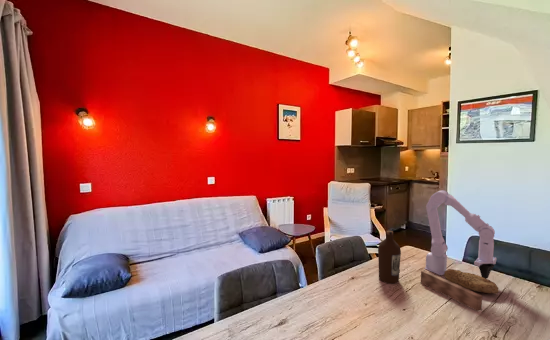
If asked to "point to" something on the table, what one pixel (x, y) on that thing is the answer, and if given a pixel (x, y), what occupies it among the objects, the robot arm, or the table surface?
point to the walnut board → (452, 290)
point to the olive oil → (389, 259)
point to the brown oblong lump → (471, 281)
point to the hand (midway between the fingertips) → (484, 277)
